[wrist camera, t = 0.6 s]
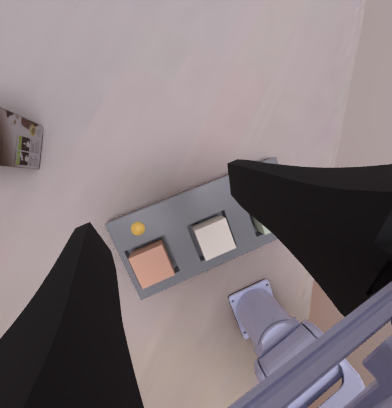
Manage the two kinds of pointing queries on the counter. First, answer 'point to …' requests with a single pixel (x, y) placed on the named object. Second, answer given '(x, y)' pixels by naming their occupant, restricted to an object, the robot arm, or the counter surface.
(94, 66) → the counter surface
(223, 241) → the cream key
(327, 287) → the robot arm
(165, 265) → the terracotta key
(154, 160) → the counter surface
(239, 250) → the keypad
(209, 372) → the counter surface
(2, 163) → the coffee box
